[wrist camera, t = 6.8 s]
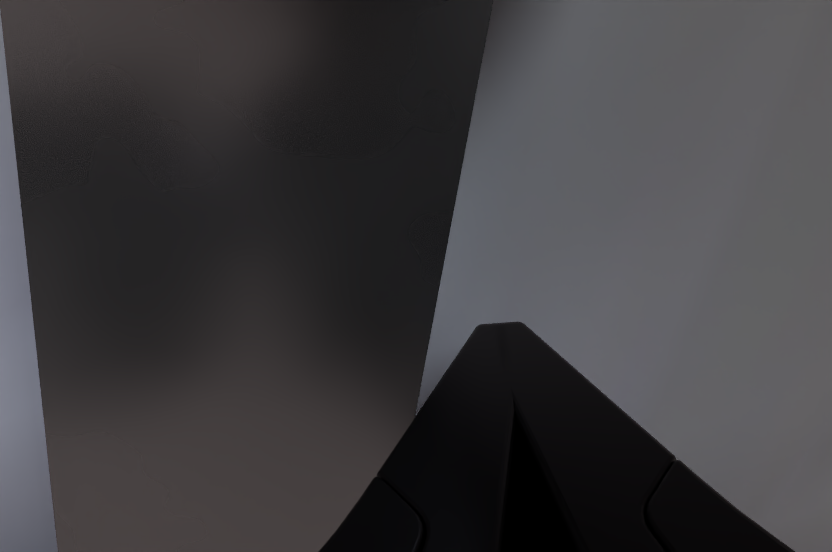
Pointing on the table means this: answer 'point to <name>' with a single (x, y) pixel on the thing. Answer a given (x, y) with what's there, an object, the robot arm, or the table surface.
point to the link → (232, 252)
